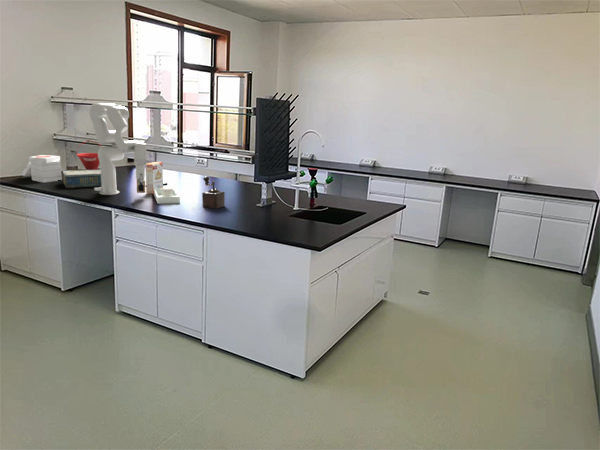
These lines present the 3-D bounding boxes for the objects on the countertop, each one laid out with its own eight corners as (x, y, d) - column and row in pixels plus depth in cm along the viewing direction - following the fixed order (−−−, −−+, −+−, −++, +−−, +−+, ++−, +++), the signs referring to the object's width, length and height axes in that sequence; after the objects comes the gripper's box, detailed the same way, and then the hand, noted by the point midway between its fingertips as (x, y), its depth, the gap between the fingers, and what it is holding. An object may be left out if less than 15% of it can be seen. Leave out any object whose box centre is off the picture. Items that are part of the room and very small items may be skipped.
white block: (163, 202, 293) (162, 189, 291) (162, 200, 298) (161, 188, 296) (173, 201, 295) (173, 189, 293) (172, 199, 301) (171, 187, 299)
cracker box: (154, 194, 320) (152, 164, 314) (146, 193, 321) (144, 163, 316) (163, 190, 333) (162, 162, 328) (156, 190, 334) (155, 161, 329)
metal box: (113, 186, 343) (113, 173, 340) (65, 188, 326) (64, 174, 324) (109, 181, 360) (108, 169, 358) (63, 183, 344) (61, 170, 342)
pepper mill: (225, 206, 295) (226, 178, 290) (215, 209, 285) (215, 180, 281) (205, 203, 301) (205, 175, 297) (195, 206, 291) (195, 177, 287)
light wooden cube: (137, 192, 296) (136, 180, 294) (136, 191, 300) (136, 179, 298) (145, 192, 298) (145, 180, 296) (144, 191, 302) (144, 179, 300)
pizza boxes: (43, 175, 370) (41, 153, 366) (66, 180, 355) (64, 156, 351) (19, 178, 355) (16, 154, 350) (41, 183, 340) (39, 158, 335)
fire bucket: (78, 180, 355) (75, 141, 348) (76, 176, 372) (73, 139, 364) (108, 179, 366) (106, 141, 358) (105, 176, 382) (103, 139, 374)
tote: (157, 205, 289) (157, 197, 288) (153, 195, 315) (153, 188, 314) (179, 204, 294) (179, 196, 293) (174, 195, 320) (174, 188, 319)
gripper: (133, 159, 300) (134, 187, 305) (134, 164, 285) (135, 192, 290) (145, 160, 303) (146, 187, 308) (147, 164, 288) (147, 192, 293)
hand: (140, 189), depth 299 cm, fingers closed on light wooden cube, 5 cm apart
